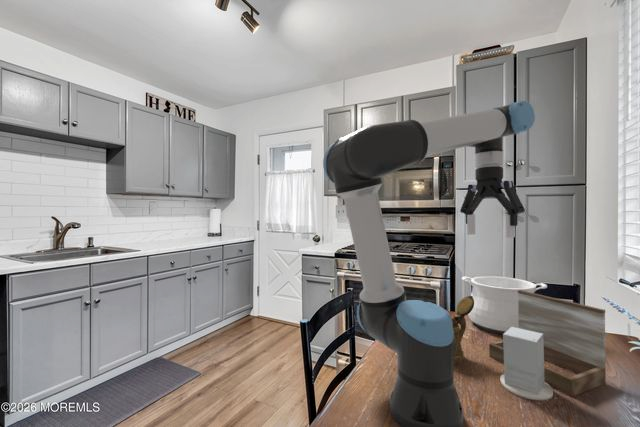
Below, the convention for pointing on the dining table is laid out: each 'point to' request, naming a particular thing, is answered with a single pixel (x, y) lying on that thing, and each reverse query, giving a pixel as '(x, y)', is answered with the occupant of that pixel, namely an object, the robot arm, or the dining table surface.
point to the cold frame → (564, 340)
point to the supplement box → (524, 359)
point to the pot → (497, 301)
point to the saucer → (544, 394)
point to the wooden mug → (461, 325)
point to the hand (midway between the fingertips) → (489, 235)
